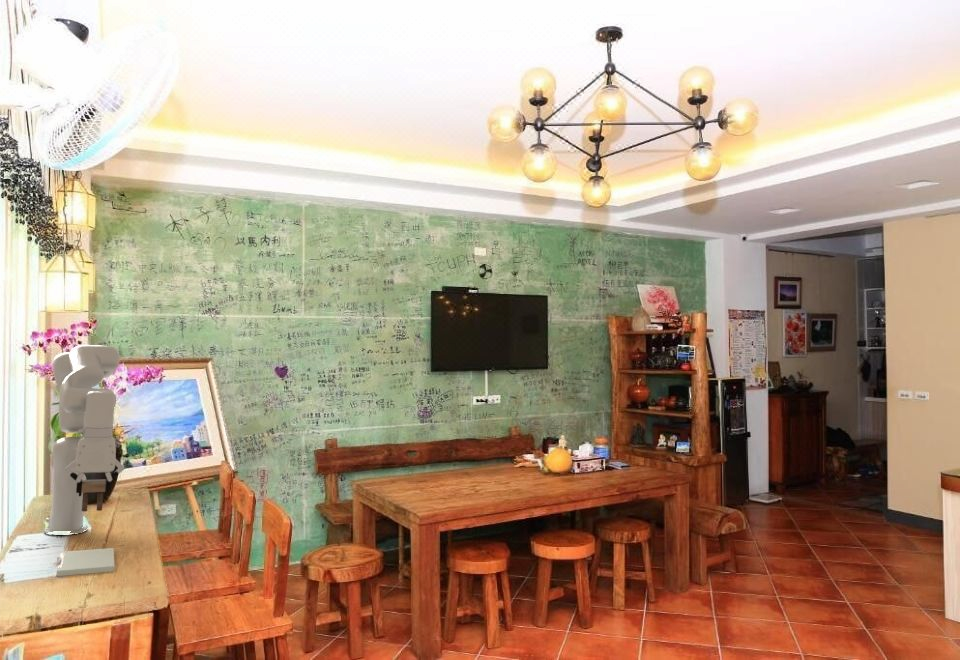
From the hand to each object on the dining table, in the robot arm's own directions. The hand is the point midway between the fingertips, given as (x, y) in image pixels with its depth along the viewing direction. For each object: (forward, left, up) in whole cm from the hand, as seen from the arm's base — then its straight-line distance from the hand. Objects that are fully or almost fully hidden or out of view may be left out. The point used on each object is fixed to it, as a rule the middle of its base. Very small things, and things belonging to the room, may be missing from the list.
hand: (93, 494), depth 200 cm
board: (0, -1, -20) cm, 20 cm away
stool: (0, 0, -4) cm, 4 cm away
